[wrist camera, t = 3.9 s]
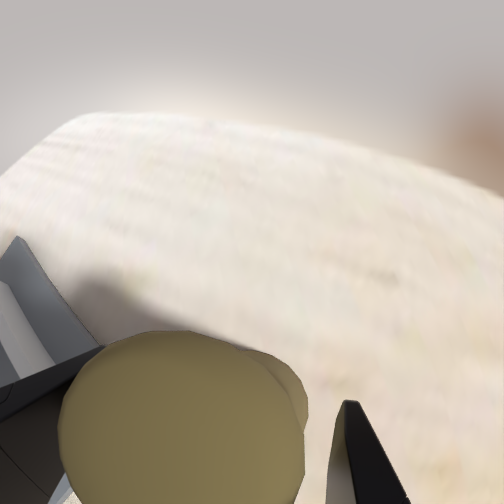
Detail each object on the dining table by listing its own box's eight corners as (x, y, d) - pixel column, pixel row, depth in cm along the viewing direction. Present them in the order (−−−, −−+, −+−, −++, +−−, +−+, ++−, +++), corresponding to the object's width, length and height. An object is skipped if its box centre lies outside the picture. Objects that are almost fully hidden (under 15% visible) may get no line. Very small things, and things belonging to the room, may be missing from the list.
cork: (198, 471, 13) (59, 568, 3) (177, 360, 15) (8, 315, 5) (319, 454, 13) (358, 586, 2) (294, 338, 15) (291, 253, 5)
